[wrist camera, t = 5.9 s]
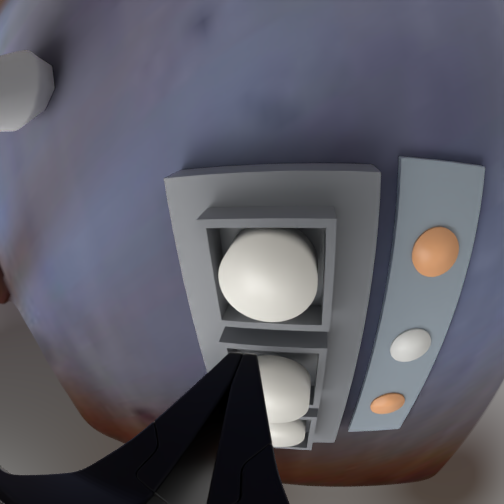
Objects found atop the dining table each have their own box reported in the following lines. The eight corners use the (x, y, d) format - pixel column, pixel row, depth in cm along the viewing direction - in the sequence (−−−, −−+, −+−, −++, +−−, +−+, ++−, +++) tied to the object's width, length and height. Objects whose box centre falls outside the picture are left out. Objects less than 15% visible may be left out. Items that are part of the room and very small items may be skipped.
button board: (334, 425, 23) (333, 457, 20) (231, 417, 25) (222, 447, 22) (372, 164, 13) (389, 180, 10) (180, 170, 15) (147, 186, 12)
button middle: (308, 402, 17) (306, 425, 15) (241, 397, 18) (234, 418, 16) (313, 357, 15) (311, 383, 13) (232, 352, 16) (224, 376, 14)
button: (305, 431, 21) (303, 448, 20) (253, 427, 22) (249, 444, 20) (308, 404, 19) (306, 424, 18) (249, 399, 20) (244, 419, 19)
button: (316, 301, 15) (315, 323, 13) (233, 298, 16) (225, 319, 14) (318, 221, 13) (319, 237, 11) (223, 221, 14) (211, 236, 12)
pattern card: (398, 424, 22) (399, 430, 22) (348, 427, 23) (348, 433, 23) (480, 165, 12) (486, 168, 11) (398, 156, 13) (402, 158, 12)
